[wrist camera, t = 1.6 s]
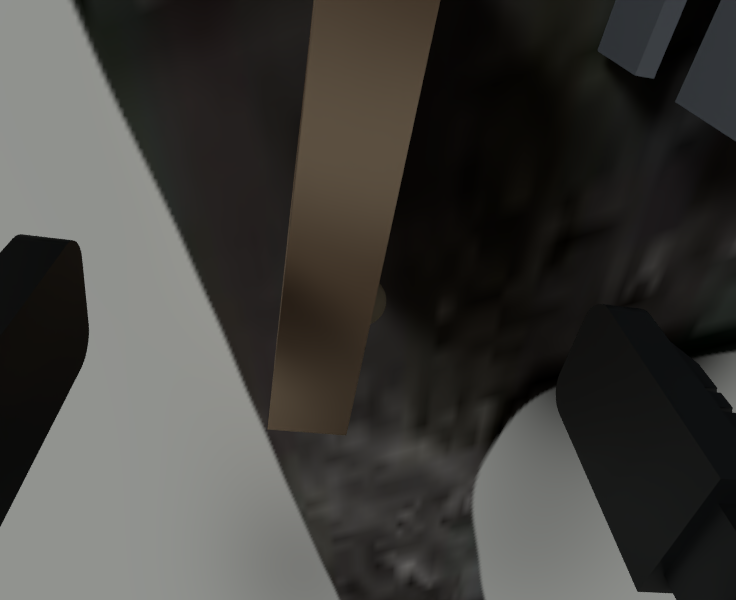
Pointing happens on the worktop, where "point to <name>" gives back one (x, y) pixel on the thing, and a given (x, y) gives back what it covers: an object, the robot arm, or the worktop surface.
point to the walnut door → (344, 200)
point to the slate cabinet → (650, 40)
